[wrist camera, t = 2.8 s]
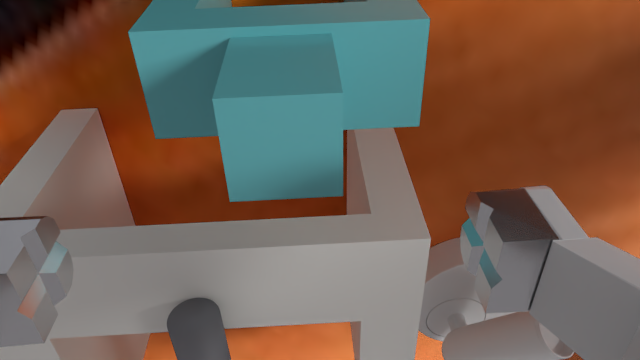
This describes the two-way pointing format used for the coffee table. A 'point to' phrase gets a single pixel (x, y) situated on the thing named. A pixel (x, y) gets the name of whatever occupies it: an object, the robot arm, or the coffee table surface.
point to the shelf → (221, 257)
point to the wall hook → (477, 317)
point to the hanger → (281, 83)
